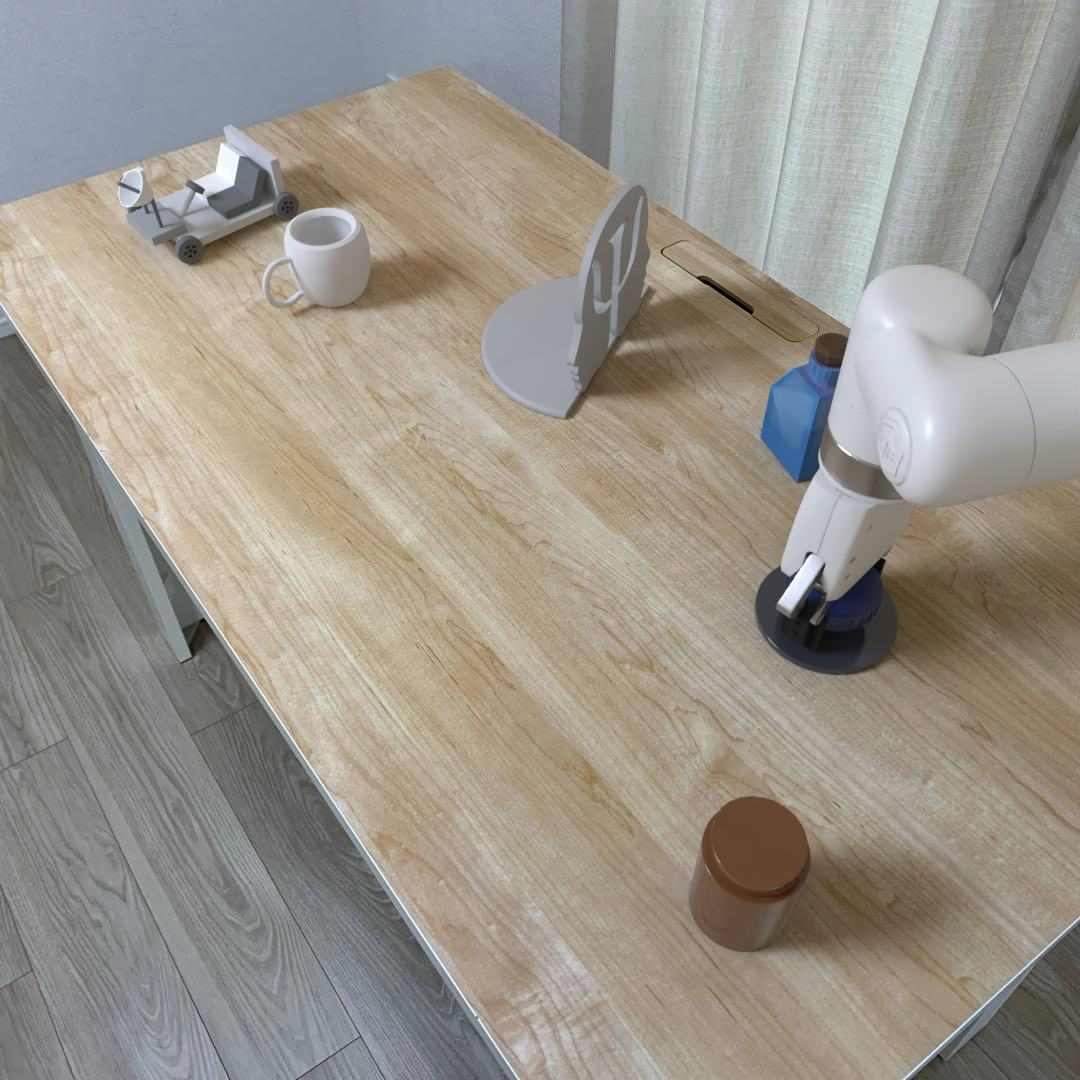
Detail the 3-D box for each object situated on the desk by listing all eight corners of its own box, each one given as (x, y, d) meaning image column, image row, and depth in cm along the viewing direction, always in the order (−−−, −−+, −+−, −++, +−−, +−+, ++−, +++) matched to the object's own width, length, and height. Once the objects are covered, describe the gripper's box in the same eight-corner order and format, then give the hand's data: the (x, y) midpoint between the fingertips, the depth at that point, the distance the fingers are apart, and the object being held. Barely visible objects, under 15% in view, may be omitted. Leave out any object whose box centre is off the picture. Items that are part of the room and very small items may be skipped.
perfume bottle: (760, 437, 95) (781, 332, 86) (818, 418, 97) (845, 313, 88) (796, 482, 92) (823, 378, 82) (856, 462, 93) (889, 357, 84)
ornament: (566, 421, 97) (567, 270, 84) (441, 382, 101) (424, 231, 88) (653, 288, 110) (665, 139, 97) (538, 258, 113) (536, 110, 101)
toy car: (132, 197, 105) (79, 152, 110) (160, 278, 112) (110, 233, 118) (284, 133, 112) (228, 94, 118) (301, 214, 120) (248, 174, 125)
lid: (767, 585, 81) (770, 572, 80) (833, 546, 83) (837, 532, 82) (830, 647, 77) (835, 634, 76) (898, 605, 80) (903, 591, 78)
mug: (349, 258, 114) (337, 193, 108) (391, 295, 110) (382, 230, 104) (251, 301, 109) (233, 236, 103) (291, 342, 105) (275, 276, 99)
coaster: (926, 628, 82) (928, 623, 81) (825, 699, 78) (827, 695, 77) (824, 540, 87) (825, 536, 87) (725, 603, 83) (726, 598, 83)
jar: (809, 912, 67) (838, 852, 60) (735, 972, 65) (756, 917, 58) (741, 836, 71) (762, 770, 64) (668, 890, 68) (681, 829, 61)
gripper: (903, 359, 74) (850, 525, 87) (753, 489, 66) (720, 649, 80) (1000, 409, 70) (929, 573, 84) (854, 553, 62) (802, 708, 76)
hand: (828, 609), depth 82 cm, fingers closed on lid, 6 cm apart
